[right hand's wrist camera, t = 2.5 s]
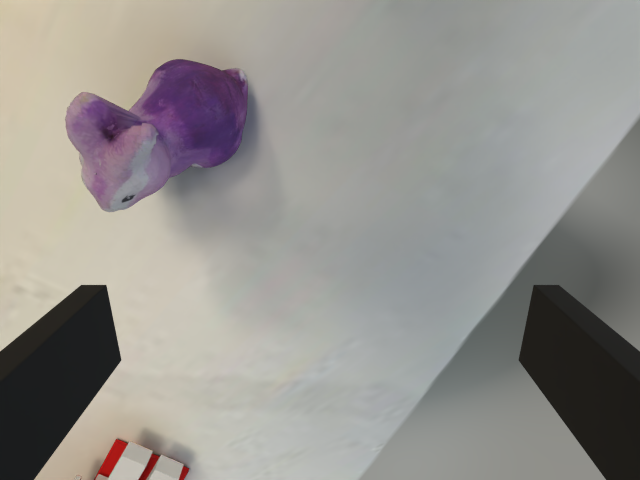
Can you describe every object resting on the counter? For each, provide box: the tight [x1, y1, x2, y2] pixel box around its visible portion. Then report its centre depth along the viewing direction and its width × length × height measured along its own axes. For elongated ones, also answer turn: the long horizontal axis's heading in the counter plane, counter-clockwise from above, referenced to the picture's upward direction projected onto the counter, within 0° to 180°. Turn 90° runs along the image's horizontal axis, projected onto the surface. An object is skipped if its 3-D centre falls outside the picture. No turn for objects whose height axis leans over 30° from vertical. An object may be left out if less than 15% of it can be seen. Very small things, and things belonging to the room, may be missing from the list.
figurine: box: [65, 59, 248, 212], centre depth 28 cm, size 9×10×15 cm
